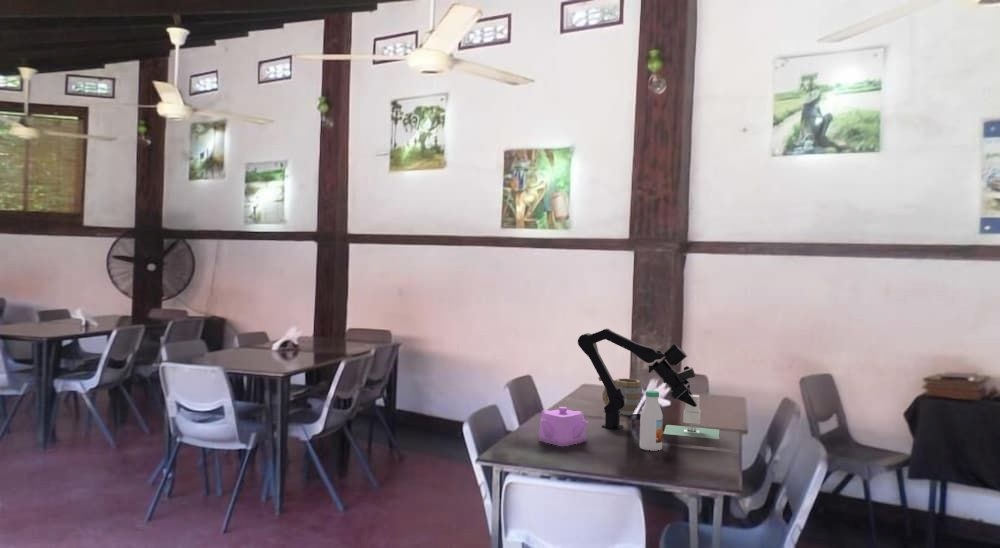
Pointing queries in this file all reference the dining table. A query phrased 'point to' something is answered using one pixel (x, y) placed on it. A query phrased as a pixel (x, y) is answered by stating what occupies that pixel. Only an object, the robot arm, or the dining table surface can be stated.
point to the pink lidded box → (562, 426)
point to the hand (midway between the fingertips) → (696, 405)
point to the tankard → (632, 391)
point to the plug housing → (692, 412)
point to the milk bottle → (651, 423)
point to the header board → (691, 431)
